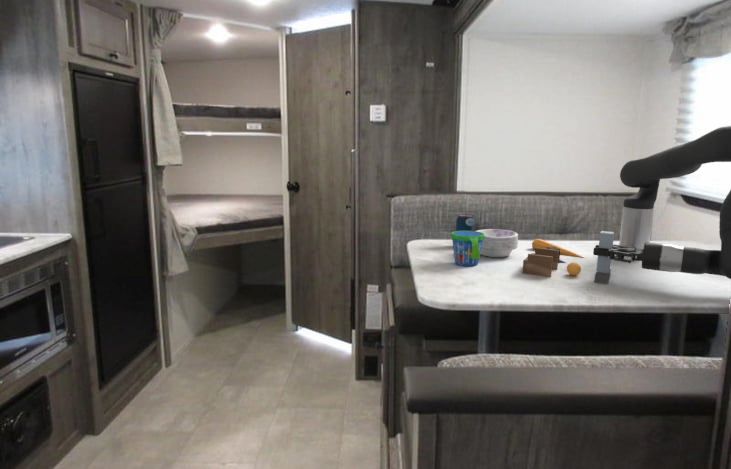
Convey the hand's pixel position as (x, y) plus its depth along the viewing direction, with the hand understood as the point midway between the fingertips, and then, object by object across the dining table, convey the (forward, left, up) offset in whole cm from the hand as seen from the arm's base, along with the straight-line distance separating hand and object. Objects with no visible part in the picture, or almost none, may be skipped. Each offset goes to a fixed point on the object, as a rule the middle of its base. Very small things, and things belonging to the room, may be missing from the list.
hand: (594, 249), depth 149 cm
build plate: (-18, -14, -9) cm, 24 cm away
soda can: (-20, -46, -9) cm, 51 cm away
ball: (0, -5, -8) cm, 10 cm away
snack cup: (+4, -37, -9) cm, 38 cm away
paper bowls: (-14, -33, -9) cm, 37 cm away
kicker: (0, +3, -8) cm, 9 cm away
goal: (0, -14, -8) cm, 17 cm away
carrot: (-28, -14, -9) cm, 33 cm away
